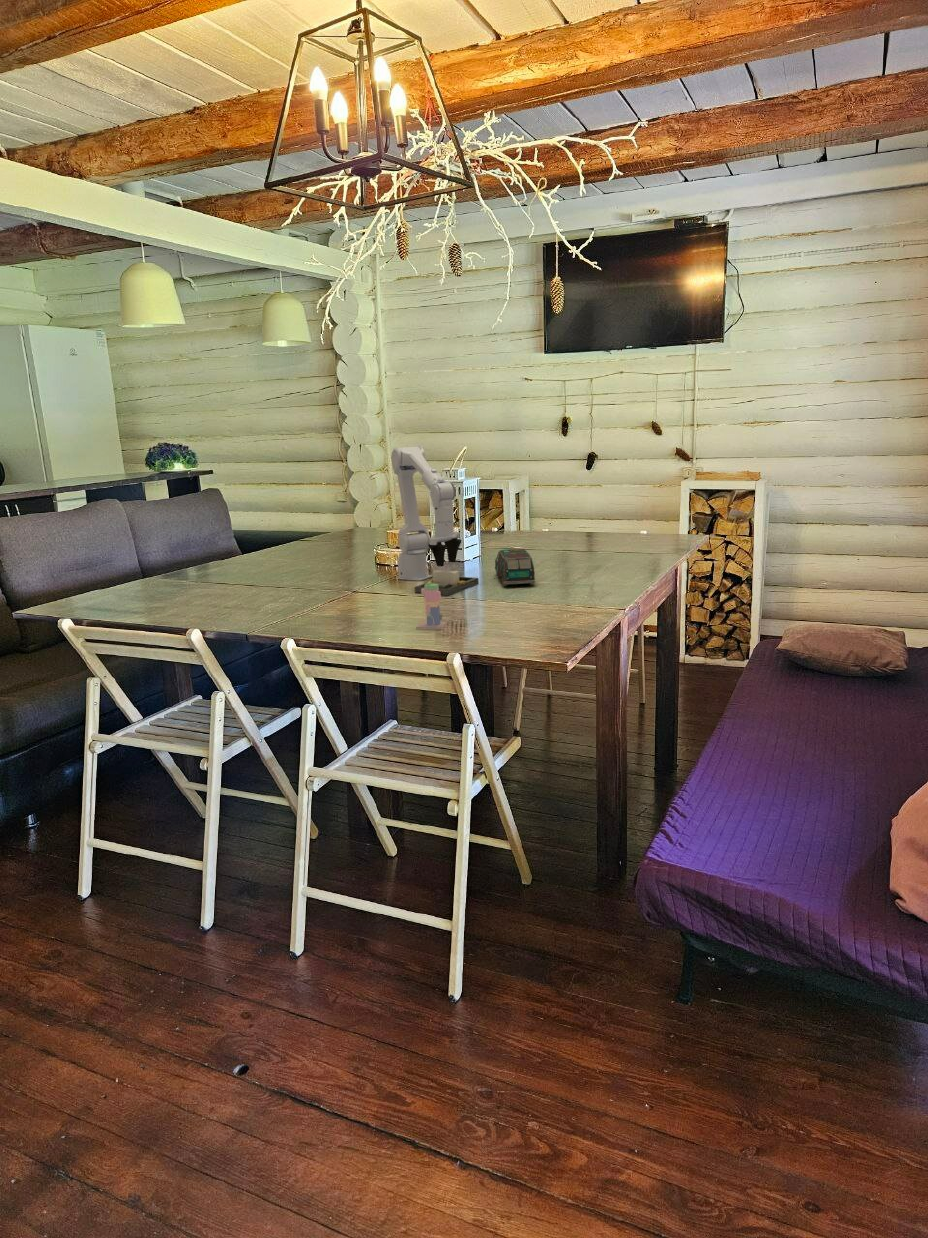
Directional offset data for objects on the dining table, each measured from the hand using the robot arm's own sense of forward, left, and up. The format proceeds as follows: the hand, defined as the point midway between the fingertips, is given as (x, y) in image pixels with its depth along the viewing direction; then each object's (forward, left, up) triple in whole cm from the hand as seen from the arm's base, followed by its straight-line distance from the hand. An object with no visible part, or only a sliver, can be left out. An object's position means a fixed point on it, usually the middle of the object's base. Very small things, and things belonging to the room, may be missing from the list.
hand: (446, 564), depth 268 cm
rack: (0, 0, -8) cm, 8 cm away
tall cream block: (0, 0, -7) cm, 7 cm away
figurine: (+22, -43, -8) cm, 49 cm away
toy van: (+14, +19, -8) cm, 25 cm away
